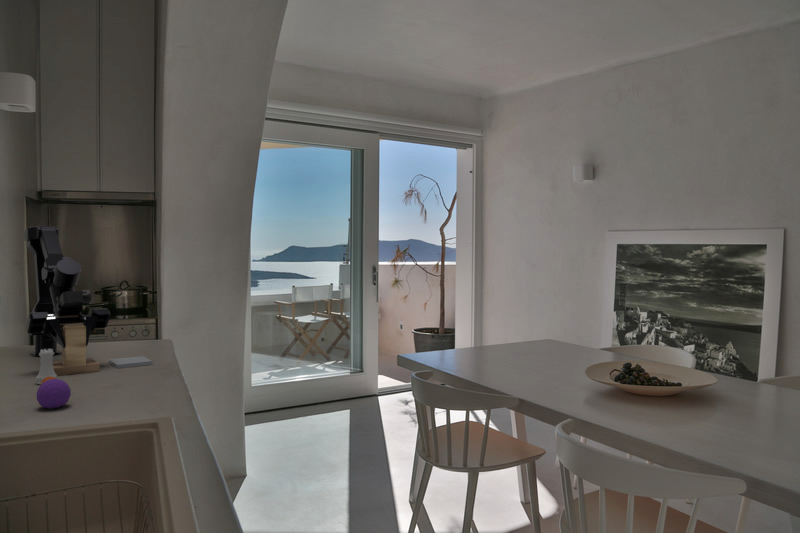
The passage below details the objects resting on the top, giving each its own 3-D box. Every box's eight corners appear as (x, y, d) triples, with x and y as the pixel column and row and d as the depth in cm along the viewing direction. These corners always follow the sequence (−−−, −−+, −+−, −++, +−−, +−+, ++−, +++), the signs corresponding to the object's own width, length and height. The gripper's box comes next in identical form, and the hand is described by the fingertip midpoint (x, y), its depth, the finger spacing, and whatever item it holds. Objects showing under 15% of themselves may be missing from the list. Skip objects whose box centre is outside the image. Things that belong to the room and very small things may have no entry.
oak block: (62, 364, 150) (62, 325, 150) (82, 362, 153) (82, 324, 152) (66, 367, 146) (66, 327, 146) (85, 365, 149) (85, 326, 149)
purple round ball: (67, 371, 133) (74, 381, 117) (61, 397, 133) (68, 412, 116) (37, 369, 130) (40, 379, 114) (31, 396, 129) (33, 410, 113)
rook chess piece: (61, 381, 140) (61, 348, 140) (48, 385, 136) (48, 351, 135) (44, 380, 140) (44, 347, 140) (31, 384, 136) (30, 350, 136)
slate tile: (108, 363, 162) (108, 359, 162) (142, 359, 168) (142, 356, 168) (117, 368, 155) (117, 364, 155) (152, 364, 161) (152, 361, 161)
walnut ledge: (44, 369, 152) (44, 362, 152) (90, 364, 159) (90, 357, 159) (51, 376, 145) (51, 368, 145) (99, 371, 152) (99, 363, 152)
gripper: (28, 280, 146) (38, 329, 138) (108, 278, 158) (121, 323, 150) (22, 309, 152) (31, 357, 144) (99, 305, 164) (112, 349, 156)
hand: (75, 345), depth 148 cm, fingers open, 5 cm apart
